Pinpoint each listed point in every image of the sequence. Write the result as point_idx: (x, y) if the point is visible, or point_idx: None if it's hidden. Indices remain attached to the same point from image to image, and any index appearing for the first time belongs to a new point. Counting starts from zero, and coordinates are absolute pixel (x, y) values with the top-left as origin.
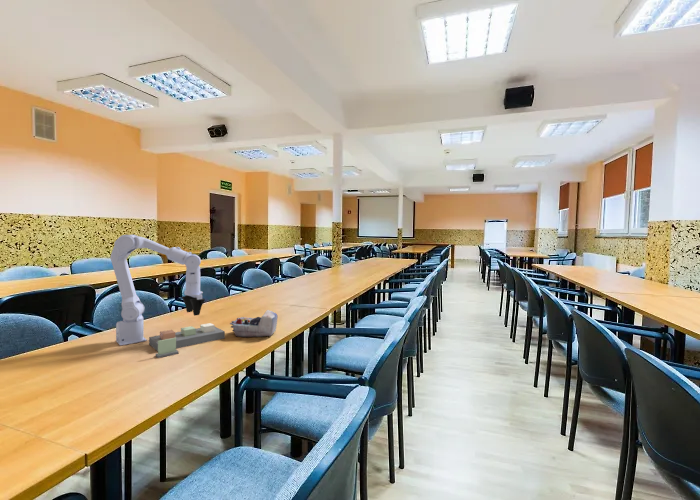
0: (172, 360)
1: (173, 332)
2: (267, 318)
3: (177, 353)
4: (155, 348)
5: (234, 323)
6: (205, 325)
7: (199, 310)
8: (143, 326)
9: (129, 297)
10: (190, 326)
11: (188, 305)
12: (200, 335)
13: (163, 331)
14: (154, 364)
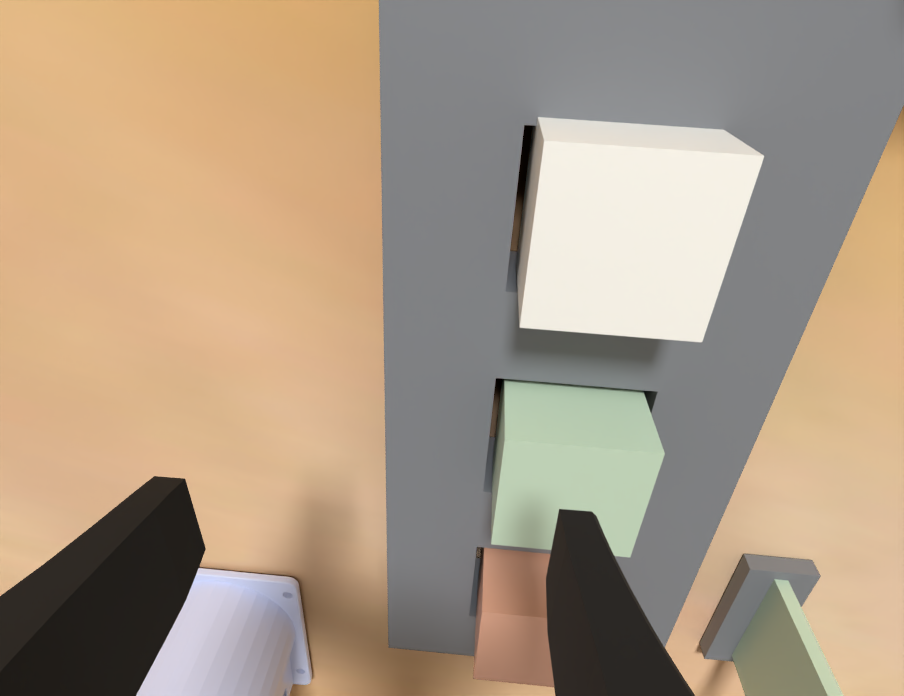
0: (898, 623)
1: None
2: None
3: (811, 569)
4: None
5: None
6: (635, 292)
7: (626, 610)
8: (190, 689)
9: None
10: (503, 453)
11: (108, 683)
12: (747, 385)
13: (491, 664)
14: (845, 686)
